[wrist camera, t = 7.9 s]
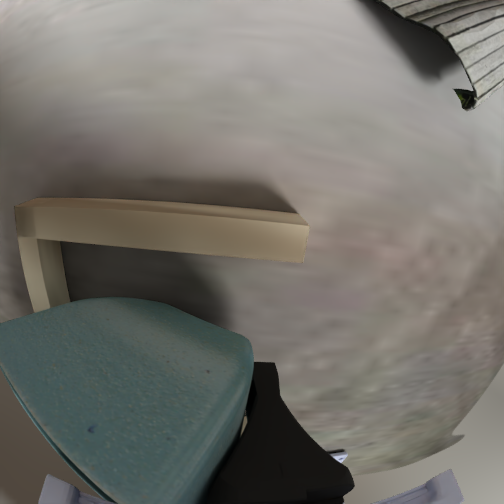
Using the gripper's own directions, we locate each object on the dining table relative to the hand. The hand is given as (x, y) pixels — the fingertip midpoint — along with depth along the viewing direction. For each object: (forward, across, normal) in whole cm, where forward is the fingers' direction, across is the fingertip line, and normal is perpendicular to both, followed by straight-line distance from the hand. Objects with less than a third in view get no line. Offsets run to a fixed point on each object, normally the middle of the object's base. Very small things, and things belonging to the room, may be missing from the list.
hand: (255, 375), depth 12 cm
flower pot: (+2, +2, 0) cm, 3 cm away
